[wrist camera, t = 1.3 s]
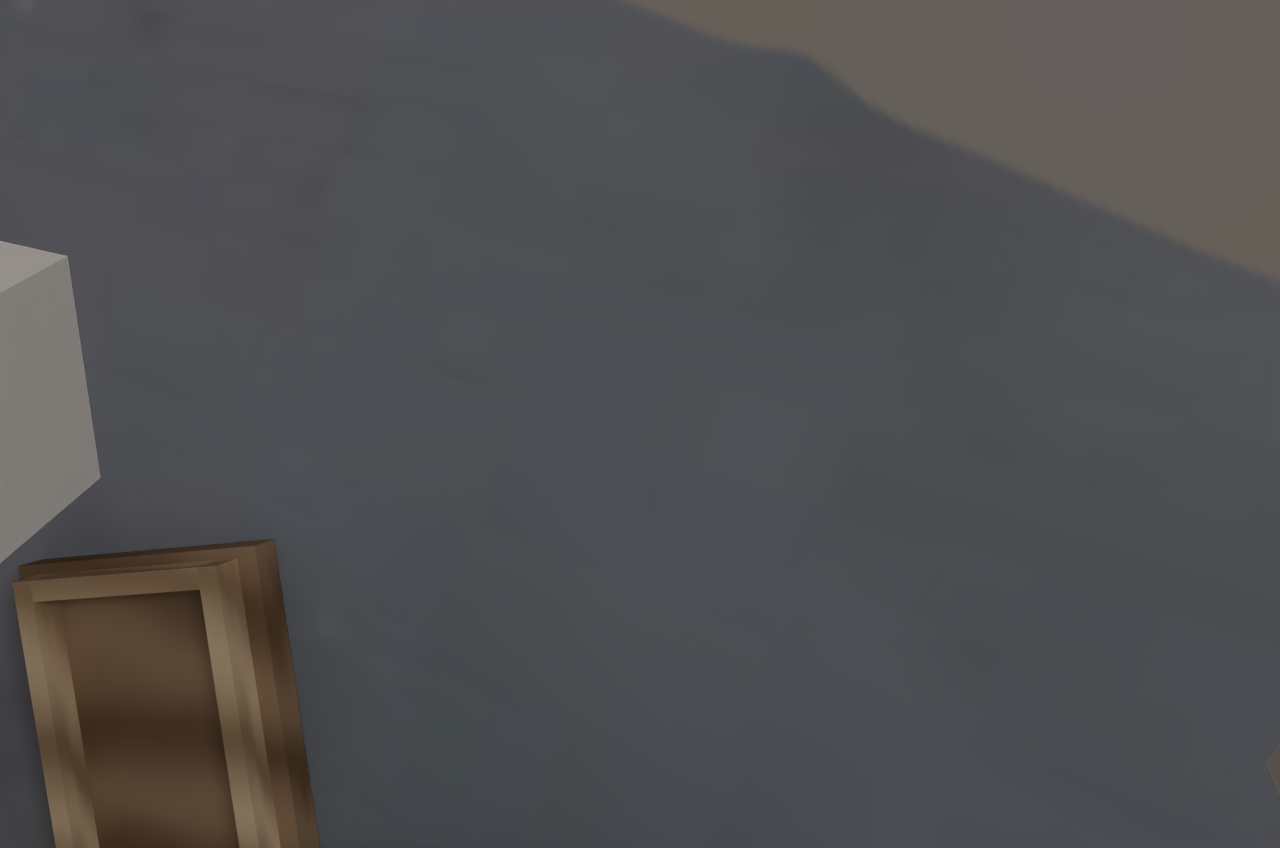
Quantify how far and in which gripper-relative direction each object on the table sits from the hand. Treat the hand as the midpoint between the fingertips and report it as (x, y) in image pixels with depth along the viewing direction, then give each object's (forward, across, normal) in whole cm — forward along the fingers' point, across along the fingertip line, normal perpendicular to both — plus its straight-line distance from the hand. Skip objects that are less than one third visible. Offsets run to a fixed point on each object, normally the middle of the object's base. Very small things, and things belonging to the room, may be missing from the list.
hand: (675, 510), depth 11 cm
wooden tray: (+23, +22, +36) cm, 48 cm away
